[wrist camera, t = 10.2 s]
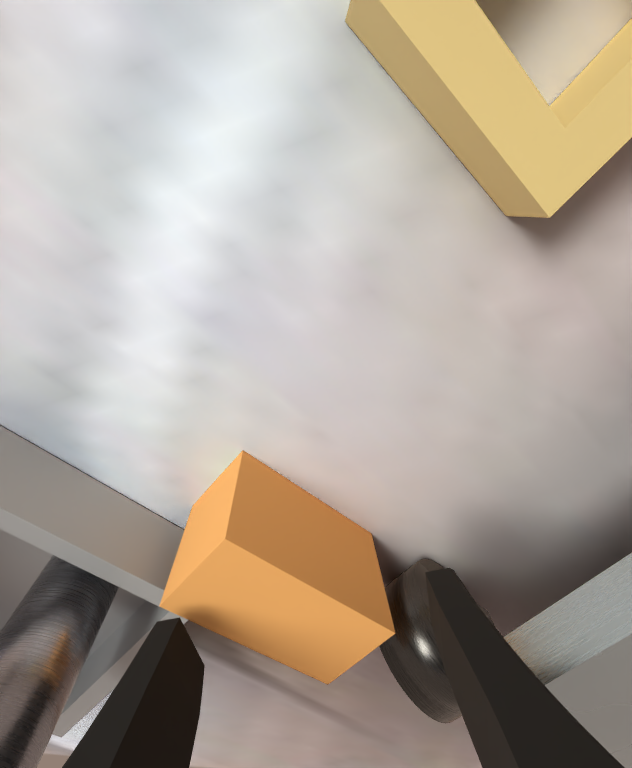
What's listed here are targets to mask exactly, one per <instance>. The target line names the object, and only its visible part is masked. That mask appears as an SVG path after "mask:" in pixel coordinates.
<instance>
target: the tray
mask: <svg viewBox="0 0 632 768" xmlns="http://www.w3.org/2000/svg"><path fill="white" fill-rule="evenodd" d="M183 533H184V530H183V529H181V528H179V527H178V526H176V525H174V524H172V523H171V522H169V521H167V520H165V519H164V518H162V517H160V516H158V515H157V514H155V513H153V512H151V511H150V510H148V509H146V508H144V507H143V506H141V505H139V504H137V503H136V502H134V501H132V500H130V499H128V498H127V497H125V496H123V495H121V494H120V493H118V492H116V491H114V490H113V489H111V488H109V487H107V486H106V485H104V484H102V483H100V482H99V481H97V480H95V479H93V478H92V477H90V476H88V475H86V474H85V473H83V472H81V471H79V470H77V469H76V468H74V467H72V466H70V465H69V464H67V463H65V462H63V461H62V460H60V459H58V458H56V457H55V456H53V455H51V454H49V453H48V452H46V451H44V450H42V449H41V448H39V447H37V446H35V445H34V444H32V443H30V442H28V441H26V440H25V439H23V438H21V437H19V436H18V435H16V434H14V433H12V432H11V431H9V430H7V429H5V428H4V427H2V426H0V631H1V630H2V628H3V627H4V625H5V624H6V622H7V621H8V619H9V618H10V617H11V615H12V614H13V612H14V611H15V609H16V608H17V606H18V605H19V603H20V602H21V601H22V599H23V598H24V596H25V595H26V593H27V592H28V590H29V589H30V588H31V586H32V585H33V583H34V582H35V580H36V579H37V577H38V576H39V574H40V573H41V572H42V570H43V569H44V567H45V566H46V564H47V563H48V561H49V560H50V559H51V557H52V556H53V555H54V556H56V557H59V558H61V559H63V560H65V561H67V562H69V563H71V564H73V565H75V566H77V567H79V568H81V569H83V570H85V571H87V572H89V573H91V574H93V575H95V576H97V577H99V578H102V579H104V580H106V581H108V582H110V583H112V584H114V585H116V586H118V587H119V589H118V591H117V593H116V595H115V597H114V600H113V602H112V604H111V606H110V608H109V611H108V613H107V615H106V617H105V619H104V621H103V624H102V626H101V628H100V630H99V632H98V635H97V637H96V639H95V641H94V643H93V646H92V648H91V650H90V652H89V654H88V656H87V659H86V661H85V663H84V665H83V667H82V670H81V672H80V674H79V676H78V678H77V680H76V683H75V685H74V687H73V689H72V691H71V694H70V696H69V698H68V700H67V702H66V705H65V707H64V709H63V711H62V713H61V715H60V718H59V720H58V722H57V724H56V726H55V729H54V731H53V733H52V734H53V735H56V736H59V737H62V736H63V735H65V734H66V733H67V732H68V731H69V730H70V729H71V728H72V727H73V726H74V725H75V724H76V723H78V722H79V721H80V720H81V719H82V718H83V717H84V716H85V715H86V714H87V713H88V712H89V711H91V710H92V709H93V708H94V707H95V706H96V705H97V704H98V703H99V702H100V701H101V700H102V699H104V698H105V697H106V696H107V695H108V694H109V693H110V692H111V691H112V690H113V689H114V688H115V687H116V686H117V684H118V683H119V681H120V679H121V678H122V676H123V675H124V673H125V671H126V670H127V668H128V667H129V665H130V663H131V662H132V660H133V659H134V657H135V655H136V654H137V652H138V651H139V649H140V647H141V646H142V644H143V642H144V641H145V639H146V638H147V636H148V634H149V633H150V631H151V630H152V628H153V627H154V625H155V624H156V622H157V621H163V620H168V619H174V618H179V617H180V619H181V621H182V623H183V625H184V624H185V623H186V622H187V621H188V620H187V619H185V618H183V617H181V616H179V615H177V614H175V613H172V612H170V611H168V610H166V609H164V608H162V607H159V605H160V602H161V599H162V596H163V593H164V590H165V587H166V584H167V581H168V578H169V575H170V572H171V569H172V566H173V563H174V560H175V557H176V554H177V551H178V548H179V545H180V542H181V539H182V536H183Z"/></svg>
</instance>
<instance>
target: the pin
mask: <svg viewBox="0 0 632 768" xmlns="http://www.w3.org/2000/svg"><path fill="white" fill-rule="evenodd" d="M118 589H119V587H118V586H116V585H114V584H112V583H110V582H108V581H106V580H104V579H102V578H99V577H97V576H95V575H93V574H91V573H89V572H87V571H85V570H83V569H81V568H79V567H77V566H75V565H73V564H71V563H69V562H67V561H65V560H63V559H61V558H59V557H56V556H54V555H53V556H52V557H51V559H50V560H49V561H48V563H47V564H46V566H45V567H44V569H43V570H42V572H41V573H40V574H39V576H38V577H37V579H36V580H35V582H34V583H33V585H32V586H31V588H30V589H29V590H28V592H27V593H26V595H25V596H24V598H23V599H22V601H21V602H20V603H19V605H18V606H17V608H16V609H15V611H14V612H13V614H12V615H11V617H10V618H9V619H8V621H7V622H6V624H5V625H4V627H3V628H2V630H1V631H0V768H37V765H38V764H39V761H40V759H41V757H42V755H43V753H44V750H45V748H46V746H47V744H48V742H49V740H50V737H51V735H52V733H53V731H54V729H55V726H56V724H57V722H58V720H59V718H60V715H61V713H62V711H63V709H64V707H65V705H66V702H67V700H68V698H69V696H70V694H71V691H72V689H73V687H74V685H75V683H76V680H77V678H78V676H79V674H80V672H81V670H82V667H83V665H84V663H85V661H86V659H87V656H88V654H89V652H90V650H91V648H92V646H93V643H94V641H95V639H96V637H97V635H98V632H99V630H100V628H101V626H102V624H103V621H104V619H105V617H106V615H107V613H108V611H109V608H110V606H111V604H112V602H113V600H114V597H115V595H116V593H117V591H118Z"/></svg>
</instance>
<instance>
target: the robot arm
mask: <svg viewBox="0 0 632 768" xmlns="http://www.w3.org/2000/svg"><path fill="white" fill-rule="evenodd" d="M425 575H426V583H427V591H428V600H429V608H430V616H431V625H432V628H433V632H434V635H435V639H436V642H437V645H438V649H439V652H440V656H441V659H442V662H443V666H444V669H445V672H446V675H447V677H448V680H449V682H450V685H451V688H452V690H453V693H454V695H455V698H456V701H457V703H458V706H459V708H460V711H461V713H462V716H463V719H464V721H465V724H466V726H467V729H468V731H469V734H470V737H471V739H472V742H473V744H474V747H475V749H476V752H477V755H478V757H479V760H480V762H481V765H482V767H483V768H625V767H624V766H622V765H621V764H620V763H619V762H618V761H617V760H616V759H615V758H614V757H613V756H612V755H611V754H610V753H609V752H608V751H607V750H606V749H605V748H604V747H603V746H602V745H601V744H600V743H599V742H598V741H597V740H596V739H595V738H594V737H593V736H592V735H591V734H590V733H589V732H588V731H587V730H586V729H585V728H584V727H583V726H582V725H581V724H580V723H579V722H578V721H577V720H576V719H575V718H574V717H573V716H572V714H571V713H570V712H569V711H568V710H567V709H566V708H565V707H564V706H563V705H562V704H561V703H560V702H559V701H558V700H557V699H556V697H555V696H554V695H553V694H552V693H551V692H550V691H549V690H548V689H547V688H546V686H545V685H544V684H543V683H542V682H541V681H540V680H539V679H538V678H537V677H536V675H535V674H534V673H533V672H532V671H531V670H530V669H529V667H528V666H527V665H526V664H525V663H524V662H523V661H522V659H521V658H520V657H519V656H518V655H517V653H516V652H515V651H514V650H513V649H512V647H511V646H510V645H509V644H508V643H507V641H506V640H505V639H504V638H503V637H502V635H501V634H500V633H499V632H498V631H497V629H496V628H495V627H494V626H493V624H492V623H491V622H490V620H489V619H488V618H487V617H486V615H485V614H484V613H483V611H482V610H481V609H480V607H479V606H478V605H477V603H476V602H475V601H474V599H473V598H472V597H471V595H470V594H469V592H468V591H467V590H466V588H465V587H464V585H463V584H462V582H461V581H460V579H459V578H458V576H457V575H456V573H455V571H454V570H452V569H451V568H445V569H440V570H435V571H429V572H425ZM203 676H204V664H203V662H202V660H201V658H200V656H199V654H198V652H197V650H196V648H195V646H194V644H193V642H192V640H191V638H190V636H189V635H188V633H187V631H186V629H185V627H184V625H183V623H182V621H181V619H180V617H179V618H174V619H168V620H163V621H157V622H156V624H155V625H154V627H153V628H152V630H151V631H150V633H149V634H148V636H147V638H146V639H145V641H144V642H143V644H142V646H141V647H140V649H139V651H138V652H137V654H136V655H135V657H134V659H133V660H132V662H131V663H130V665H129V667H128V668H127V670H126V671H125V673H124V675H123V676H122V678H121V679H120V681H119V683H118V684H117V686H116V687H115V689H114V691H113V692H112V694H111V695H110V697H109V698H108V700H107V701H106V703H105V705H104V706H103V708H102V709H101V711H100V712H99V714H98V715H97V717H96V718H95V720H94V722H93V723H92V725H91V726H90V728H89V729H88V731H87V732H86V734H85V735H84V737H83V738H82V740H81V741H80V742H79V744H78V745H77V747H76V748H75V750H74V751H73V753H72V754H71V756H70V757H69V759H68V760H67V761H66V763H65V764H64V766H63V767H62V768H189V765H190V760H191V755H192V750H193V745H194V740H195V735H196V730H197V725H198V720H199V715H200V706H201V697H202V688H203Z"/></svg>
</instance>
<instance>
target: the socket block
mask: <svg viewBox="0 0 632 768" xmlns="http://www.w3.org/2000/svg"><path fill="white" fill-rule="evenodd" d="M345 22H346V23H347V24H348V26H349V27H350V28H351V29H352V30H353V32H354V33H355V34H356V35H357V36H358V38H359V39H360V40H361V41H362V42H363V44H364V45H365V46H366V47H367V49H368V50H369V51H370V52H371V53H372V55H373V56H374V57H375V58H376V59H377V61H378V62H379V63H380V64H381V65H382V67H383V68H384V69H385V70H386V71H387V73H388V74H389V75H390V76H391V78H392V79H393V80H394V81H395V82H396V84H397V85H398V86H399V87H400V88H401V90H402V91H403V92H404V93H405V94H406V96H407V97H408V98H409V99H410V100H411V102H412V103H413V104H414V105H415V107H416V108H417V109H418V110H419V111H420V113H421V114H422V115H423V116H424V117H425V119H426V120H427V121H428V122H429V123H430V125H431V126H432V127H433V128H434V130H435V131H436V132H437V133H438V134H439V136H440V137H441V138H442V139H443V140H444V142H445V143H446V144H447V145H448V146H449V148H450V149H451V150H452V151H453V152H454V154H455V155H456V156H457V157H458V159H459V160H460V161H461V162H462V163H463V165H464V166H465V167H466V168H467V169H468V171H469V172H470V173H471V174H472V175H473V177H474V178H475V179H476V180H477V181H478V183H479V184H480V185H481V186H482V188H483V189H484V190H485V191H486V192H487V194H488V195H489V196H490V197H491V198H492V200H493V201H494V202H495V203H496V204H497V206H498V207H499V208H500V209H501V210H502V212H503V213H504V214H505V215H506V216H520V217H543V218H550V217H551V216H552V215H553V214H554V213H555V212H556V211H557V210H558V209H559V208H560V207H561V206H562V205H563V204H564V203H565V202H566V201H567V200H568V199H569V198H570V197H571V196H572V195H573V194H574V193H575V192H576V191H577V190H578V189H580V188H581V187H582V186H583V185H584V184H585V183H586V182H587V181H588V180H589V179H590V178H591V177H592V176H593V175H594V174H595V173H596V172H597V171H598V170H599V169H600V168H601V167H602V166H603V165H604V164H605V163H606V162H607V161H608V160H609V159H610V158H611V157H612V156H613V155H614V154H615V153H616V152H617V151H618V150H619V149H620V148H621V147H622V146H623V145H624V144H625V143H626V142H628V141H629V140H630V139H631V138H632V18H631V19H630V21H629V22H628V23H627V24H626V25H625V26H624V27H623V28H622V29H621V30H620V31H619V32H618V33H617V34H616V36H615V37H614V38H613V39H612V40H611V41H610V42H609V43H608V44H607V45H606V46H605V47H604V48H603V49H602V51H601V52H600V53H599V54H598V55H597V56H596V57H595V58H594V59H593V60H592V61H591V62H590V63H589V64H588V66H587V67H586V68H585V69H584V70H583V71H582V72H581V73H580V74H579V75H578V76H577V77H576V78H575V79H574V81H573V82H572V83H571V84H570V85H569V86H568V87H567V88H566V89H565V90H564V91H563V92H562V93H561V94H560V96H559V97H558V98H557V99H556V100H555V101H554V102H553V103H552V104H551V105H550V106H549V105H548V104H547V102H546V101H545V100H544V98H543V97H542V95H541V94H540V92H539V91H538V90H537V88H536V87H535V85H534V84H533V82H532V81H531V80H530V78H529V77H528V75H527V74H526V72H525V71H524V70H523V68H522V67H521V65H520V64H519V62H518V61H517V59H516V58H515V57H514V55H513V54H512V52H511V51H510V49H509V48H508V47H507V45H506V44H505V42H504V41H503V39H502V38H501V37H500V35H499V34H498V32H497V31H496V29H495V28H494V27H493V25H492V24H491V22H490V21H489V19H488V18H487V17H486V15H485V14H484V12H483V11H482V9H481V8H480V7H479V5H478V4H477V2H476V1H475V0H351V1H350V5H349V9H348V12H347V16H346V19H345Z"/></svg>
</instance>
